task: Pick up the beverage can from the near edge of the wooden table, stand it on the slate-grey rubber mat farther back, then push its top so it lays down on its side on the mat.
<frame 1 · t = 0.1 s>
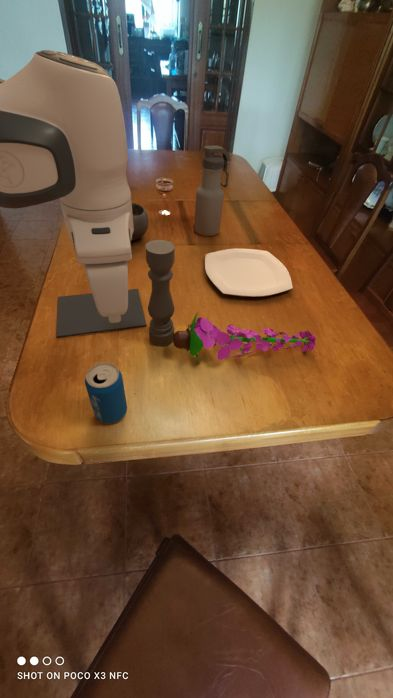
hand: (112, 301, 52), 23 cm above the table, tool pointing down, fingers open, 8 cm apart
water bottle: (207, 231, 122), on the table
mat: (101, 311, 85), on the table
plate: (246, 275, 102), on the table
beverage can: (111, 412, 64), on the table
wineglass: (164, 212, 130), on the table
bowl: (128, 237, 114), on the table
candle holder: (161, 338, 80), on the table
potted plant: (242, 349, 79), on the table
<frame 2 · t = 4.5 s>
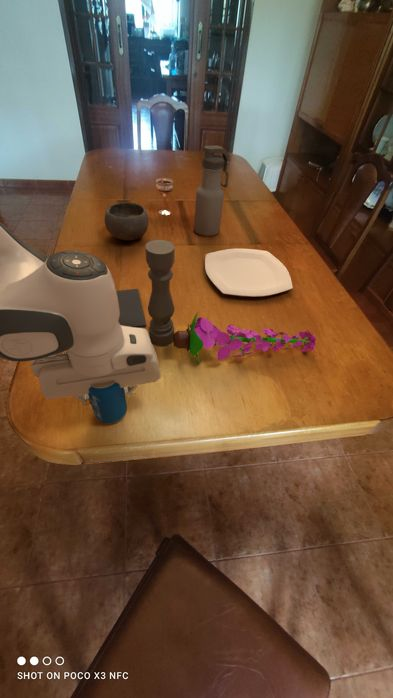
hand: (108, 398, 61), 5 cm above the table, tool pointing down, fingers closed on beverage can, 6 cm apart
beverage can: (111, 412, 64), on the table, touching gripper
everything else where it was.
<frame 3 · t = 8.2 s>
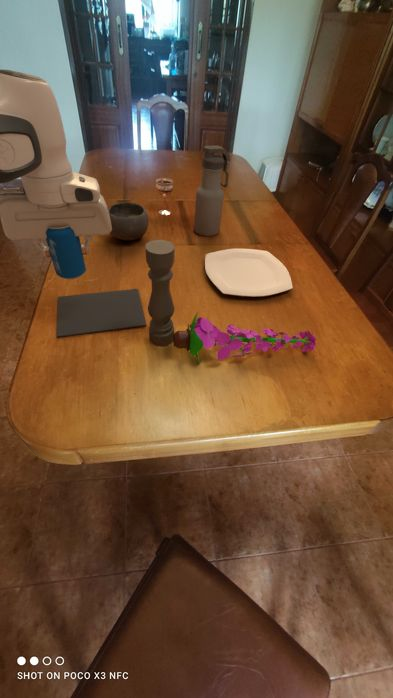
hand: (67, 254, 68), 19 cm above the table, tool pointing down, fingers closed on beverage can, 6 cm apart
beverage can: (71, 274, 72), point 14 cm above the table, touching gripper
everything else where it was.
when the fingers open (5 cm above the table, at t = 12.0 s): beverage can stays where it is, resting on mat.
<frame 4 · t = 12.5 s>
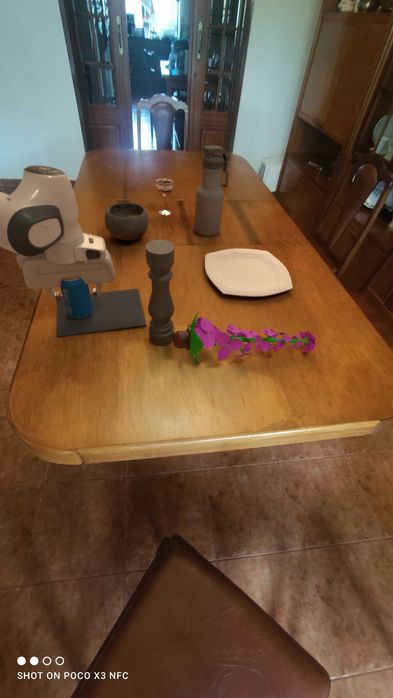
hand: (77, 297, 80), 5 cm above the table, tool pointing down, fingers open, 8 cm apart
beverage can: (81, 313, 84), resting on mat
everything else where it was.
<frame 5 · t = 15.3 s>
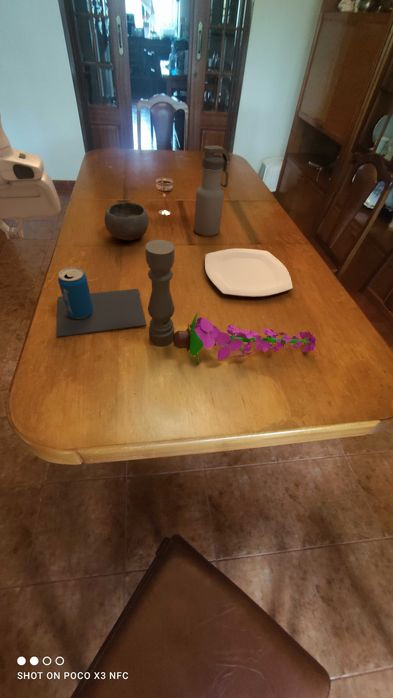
hand: (16, 237, 66), 22 cm above the table, tool pointing down, fingers closed
nothing on the table moved.
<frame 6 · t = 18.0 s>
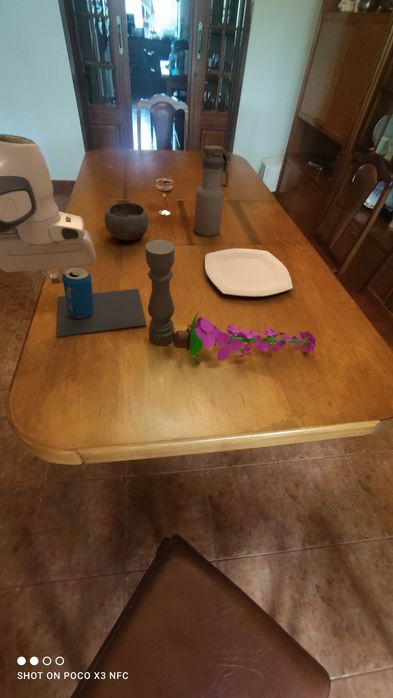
hand: (56, 282, 76), 10 cm above the table, tool pointing down, fingers closed
beverage can: (80, 312, 83), point 1 cm above the table, touching gripper, mat
everything else where it was.
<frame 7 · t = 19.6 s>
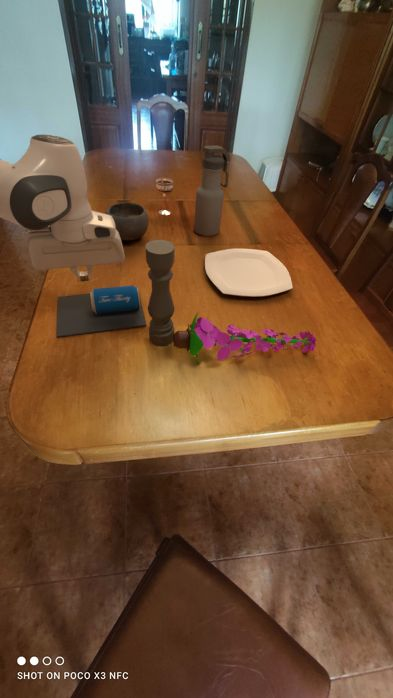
hand: (85, 279, 77), 10 cm above the table, tool pointing down, fingers closed
beverage can: (91, 301, 82), point 4 cm above the table, touching mat
everything else where it was.
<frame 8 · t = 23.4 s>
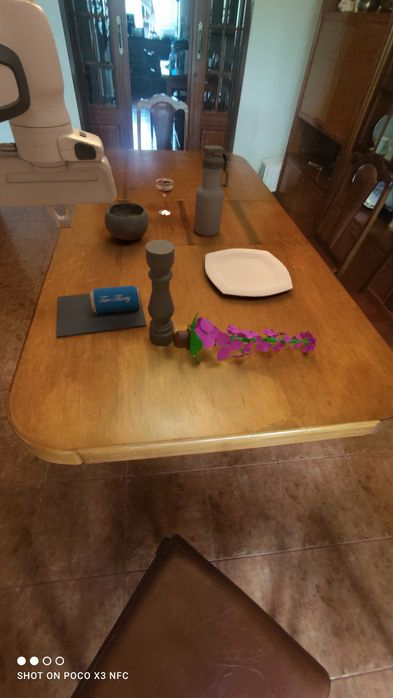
hand: (66, 226, 60), 27 cm above the table, tool pointing down, fingers closed
nothing on the table moved.
at the end: beverage can tilted 90°; beverage can inside the target area on the mat (2.0 cm from its centre), point 3.7 cm above the mat's base; the gripper is holding nothing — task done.
